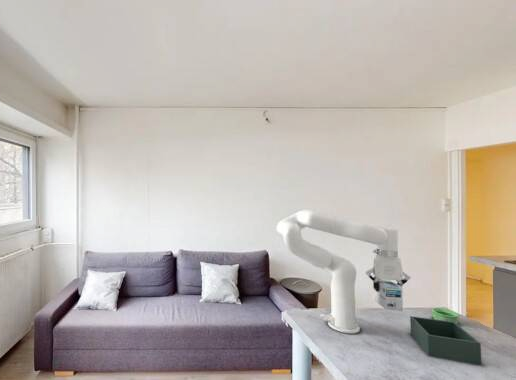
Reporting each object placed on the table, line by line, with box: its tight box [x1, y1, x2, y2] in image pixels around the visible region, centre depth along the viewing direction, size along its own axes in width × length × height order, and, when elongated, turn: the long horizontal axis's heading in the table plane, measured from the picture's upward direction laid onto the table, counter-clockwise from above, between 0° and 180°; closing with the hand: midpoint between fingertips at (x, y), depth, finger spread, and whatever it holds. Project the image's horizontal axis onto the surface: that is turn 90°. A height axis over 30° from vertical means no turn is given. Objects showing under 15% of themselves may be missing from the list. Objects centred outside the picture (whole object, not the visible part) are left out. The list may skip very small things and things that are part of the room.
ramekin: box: [431, 307, 460, 324], centre depth 125 cm, size 9×9×4 cm
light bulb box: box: [373, 279, 404, 312], centre depth 120 cm, size 11×7×11 cm, turn 168°
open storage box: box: [409, 315, 482, 366], centre depth 105 cm, size 15×17×8 cm
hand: (387, 291), depth 121 cm, fingers closed on light bulb box, 7 cm apart
